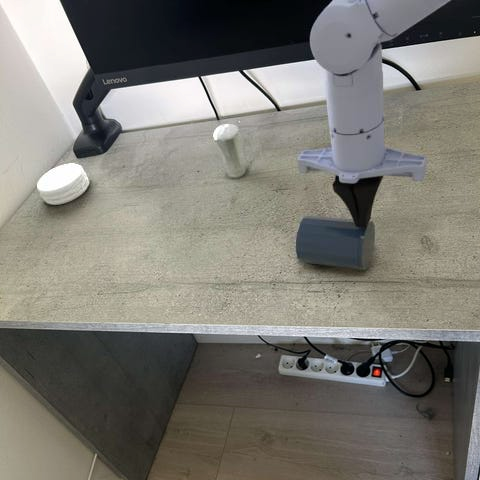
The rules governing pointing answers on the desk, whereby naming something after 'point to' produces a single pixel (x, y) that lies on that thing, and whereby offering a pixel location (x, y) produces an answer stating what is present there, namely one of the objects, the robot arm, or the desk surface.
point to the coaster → (63, 184)
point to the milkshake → (230, 149)
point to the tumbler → (335, 242)
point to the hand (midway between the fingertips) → (363, 222)
